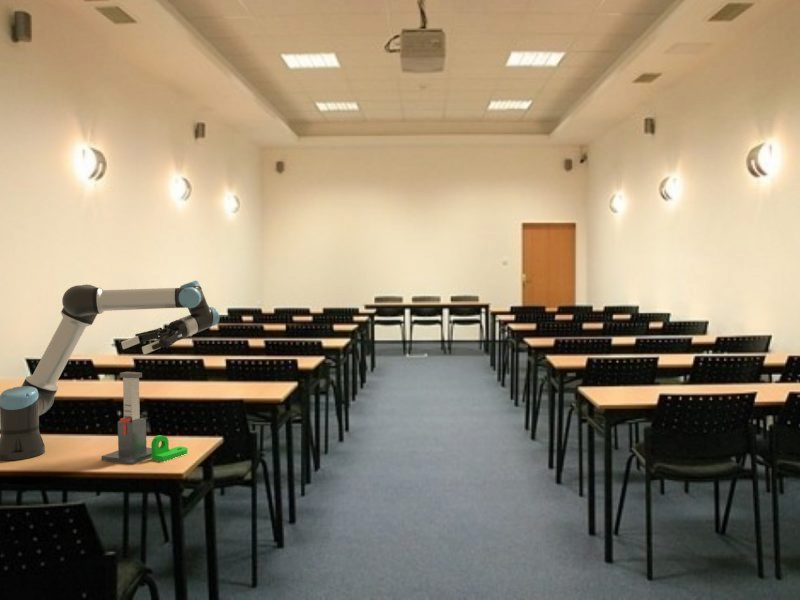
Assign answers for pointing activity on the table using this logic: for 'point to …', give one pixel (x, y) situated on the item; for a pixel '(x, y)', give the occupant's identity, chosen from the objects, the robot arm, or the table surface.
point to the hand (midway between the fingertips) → (132, 348)
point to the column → (131, 394)
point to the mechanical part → (165, 449)
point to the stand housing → (130, 443)
